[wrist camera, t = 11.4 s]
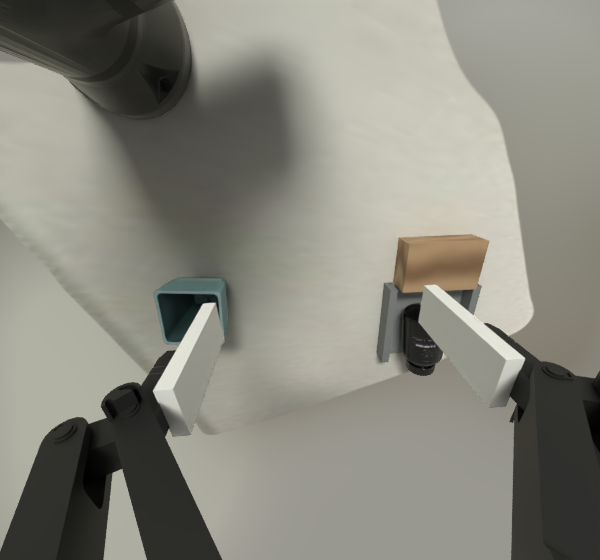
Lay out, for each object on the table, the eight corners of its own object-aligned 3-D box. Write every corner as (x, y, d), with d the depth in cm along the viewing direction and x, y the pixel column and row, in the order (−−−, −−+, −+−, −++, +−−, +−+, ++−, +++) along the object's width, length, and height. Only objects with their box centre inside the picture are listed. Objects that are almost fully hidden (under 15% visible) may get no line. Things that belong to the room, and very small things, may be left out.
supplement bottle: (434, 329, 38) (430, 387, 43) (455, 309, 42) (448, 365, 47) (393, 313, 43) (393, 367, 48) (414, 297, 47) (412, 349, 52)
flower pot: (236, 313, 46) (225, 345, 38) (186, 313, 45) (163, 345, 37) (233, 268, 42) (220, 292, 34) (179, 266, 42) (152, 290, 34)
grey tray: (384, 283, 45) (390, 290, 42) (469, 278, 45) (481, 286, 42) (376, 351, 51) (381, 362, 48) (452, 347, 51) (461, 357, 48)
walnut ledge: (398, 237, 41) (409, 244, 38) (471, 234, 42) (489, 240, 38) (393, 282, 45) (402, 292, 41) (460, 279, 45) (476, 289, 41)
